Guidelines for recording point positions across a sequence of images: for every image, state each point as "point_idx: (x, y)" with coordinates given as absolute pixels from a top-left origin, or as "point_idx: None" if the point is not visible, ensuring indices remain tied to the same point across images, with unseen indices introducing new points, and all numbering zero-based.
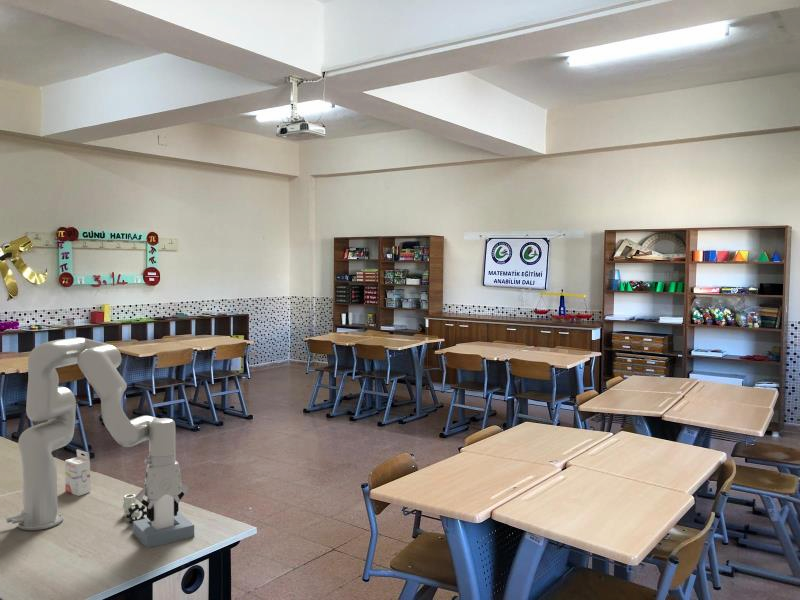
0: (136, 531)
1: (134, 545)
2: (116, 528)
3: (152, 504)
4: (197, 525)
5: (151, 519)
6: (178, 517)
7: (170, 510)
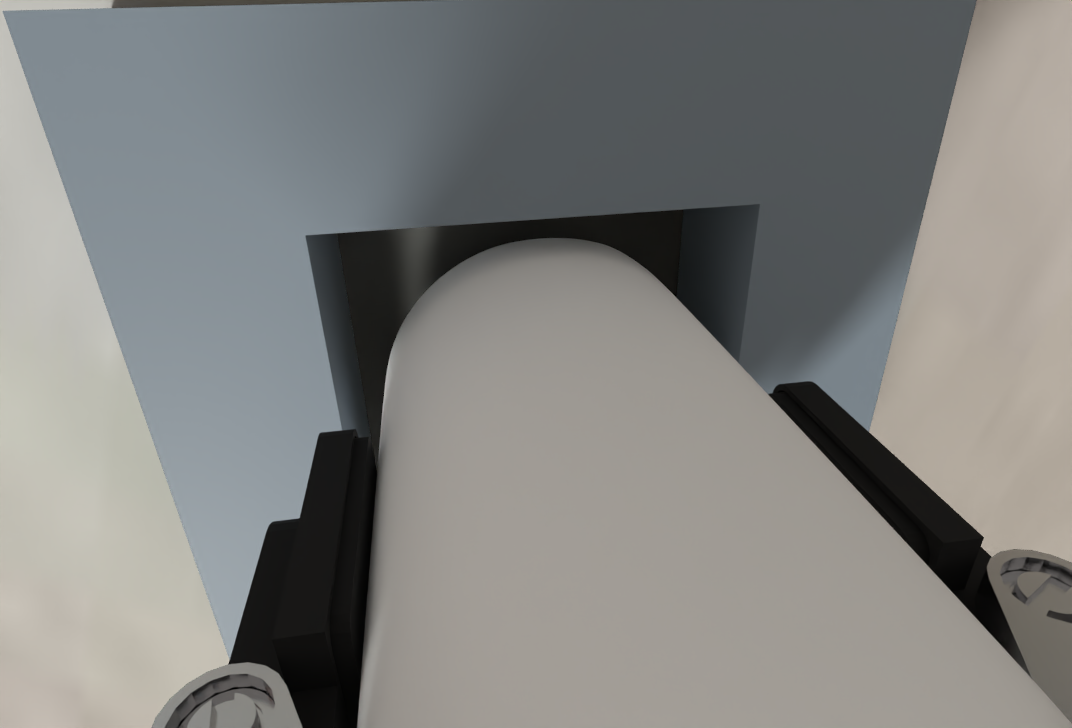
0: None
1: None
2: None
3: (1030, 641)
4: (29, 402)
5: (823, 398)
6: (278, 519)
7: (505, 425)
